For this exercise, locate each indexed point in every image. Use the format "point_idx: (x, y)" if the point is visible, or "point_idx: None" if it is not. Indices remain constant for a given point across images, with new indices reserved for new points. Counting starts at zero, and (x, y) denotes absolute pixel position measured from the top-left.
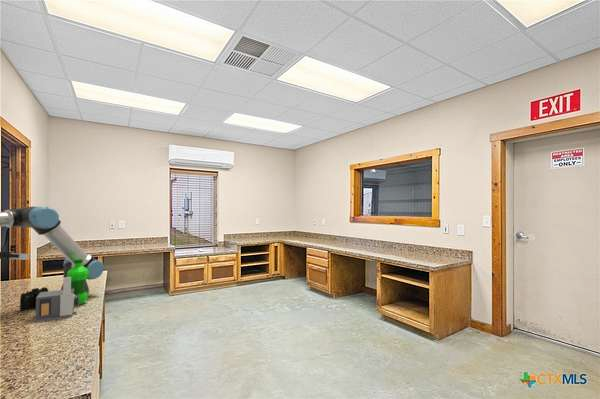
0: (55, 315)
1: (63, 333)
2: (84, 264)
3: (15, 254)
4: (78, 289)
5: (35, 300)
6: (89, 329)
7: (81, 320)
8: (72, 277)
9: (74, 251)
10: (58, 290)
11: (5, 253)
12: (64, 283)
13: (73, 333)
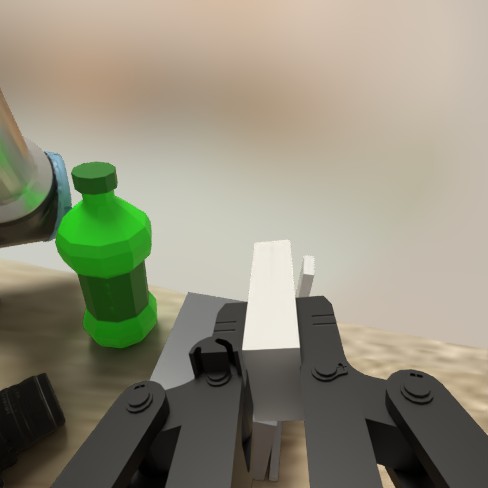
0: None
1: (475, 411)
2: (51, 185)
3: (334, 320)
4: (146, 288)
5: (3, 447)
6: (457, 353)
7: (352, 354)
8: (137, 258)
9: (14, 129)
10: (174, 335)
11: (445, 412)
12: (308, 293)
13: (483, 389)
